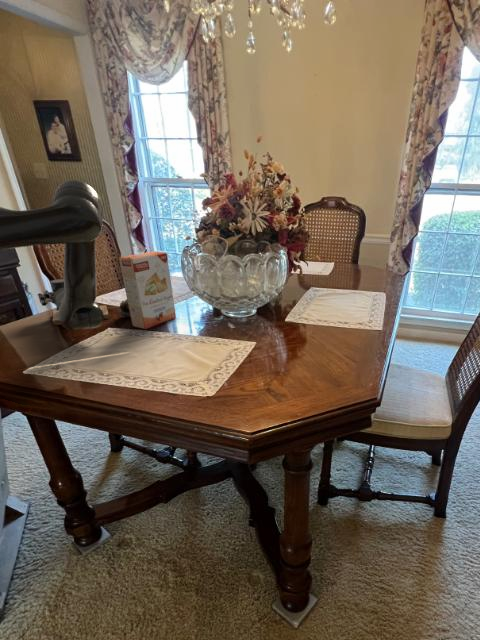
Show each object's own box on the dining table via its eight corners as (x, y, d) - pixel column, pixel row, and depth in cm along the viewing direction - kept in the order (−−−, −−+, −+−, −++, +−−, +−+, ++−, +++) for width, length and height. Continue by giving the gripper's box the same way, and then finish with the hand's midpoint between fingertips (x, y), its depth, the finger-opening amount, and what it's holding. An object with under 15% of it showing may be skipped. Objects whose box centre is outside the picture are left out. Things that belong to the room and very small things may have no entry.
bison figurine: (116, 318, 126) (109, 288, 121) (129, 312, 131) (123, 283, 126) (148, 322, 123) (142, 290, 118) (160, 315, 129) (155, 285, 124)
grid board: (54, 325, 119) (52, 320, 119) (55, 315, 129) (54, 310, 128) (109, 318, 126) (108, 313, 125) (106, 309, 135) (105, 304, 134)
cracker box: (146, 330, 116) (132, 258, 106) (132, 327, 118) (116, 256, 108) (177, 317, 127) (167, 251, 117) (164, 315, 129) (152, 250, 119)
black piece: (59, 314, 124) (49, 283, 119) (59, 310, 128) (50, 280, 123) (76, 312, 126) (67, 281, 121) (76, 308, 130) (67, 278, 125)
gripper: (92, 286, 116) (81, 277, 128) (38, 293, 109) (31, 283, 120) (98, 310, 120) (87, 299, 131) (46, 319, 112) (39, 306, 124)
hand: (60, 291), depth 126 cm, fingers open, 7 cm apart
